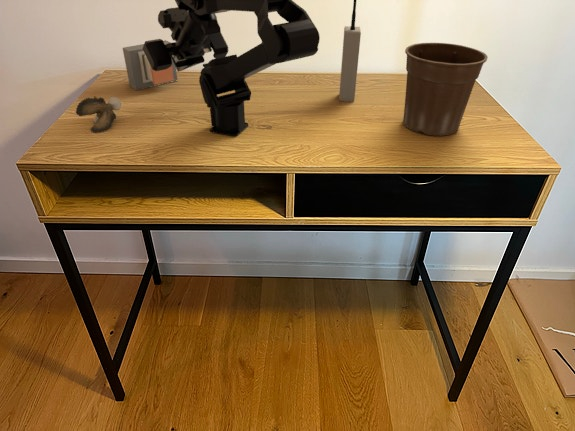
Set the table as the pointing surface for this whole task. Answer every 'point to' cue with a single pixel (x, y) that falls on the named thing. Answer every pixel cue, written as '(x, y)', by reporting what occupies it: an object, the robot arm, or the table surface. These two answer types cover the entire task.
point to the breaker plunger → (157, 73)
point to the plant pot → (439, 85)
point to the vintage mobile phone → (350, 60)
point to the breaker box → (139, 67)
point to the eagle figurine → (99, 112)
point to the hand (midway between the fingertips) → (178, 69)
